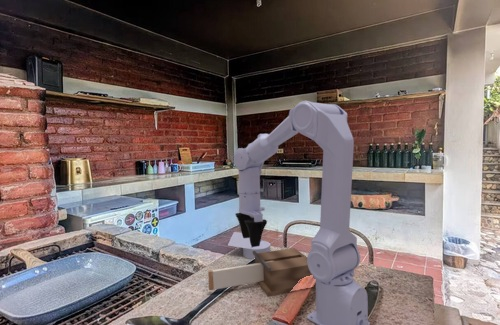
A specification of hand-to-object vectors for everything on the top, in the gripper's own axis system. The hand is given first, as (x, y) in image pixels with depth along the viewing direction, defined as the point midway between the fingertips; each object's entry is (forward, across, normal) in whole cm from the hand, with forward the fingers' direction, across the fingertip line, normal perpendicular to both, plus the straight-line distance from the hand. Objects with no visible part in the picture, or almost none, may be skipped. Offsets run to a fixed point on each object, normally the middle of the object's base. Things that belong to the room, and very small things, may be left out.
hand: (250, 241), depth 78 cm
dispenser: (+9, -6, -6) cm, 13 cm away
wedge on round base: (+10, +16, -5) cm, 19 cm away
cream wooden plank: (+8, -6, +4) cm, 11 cm away
